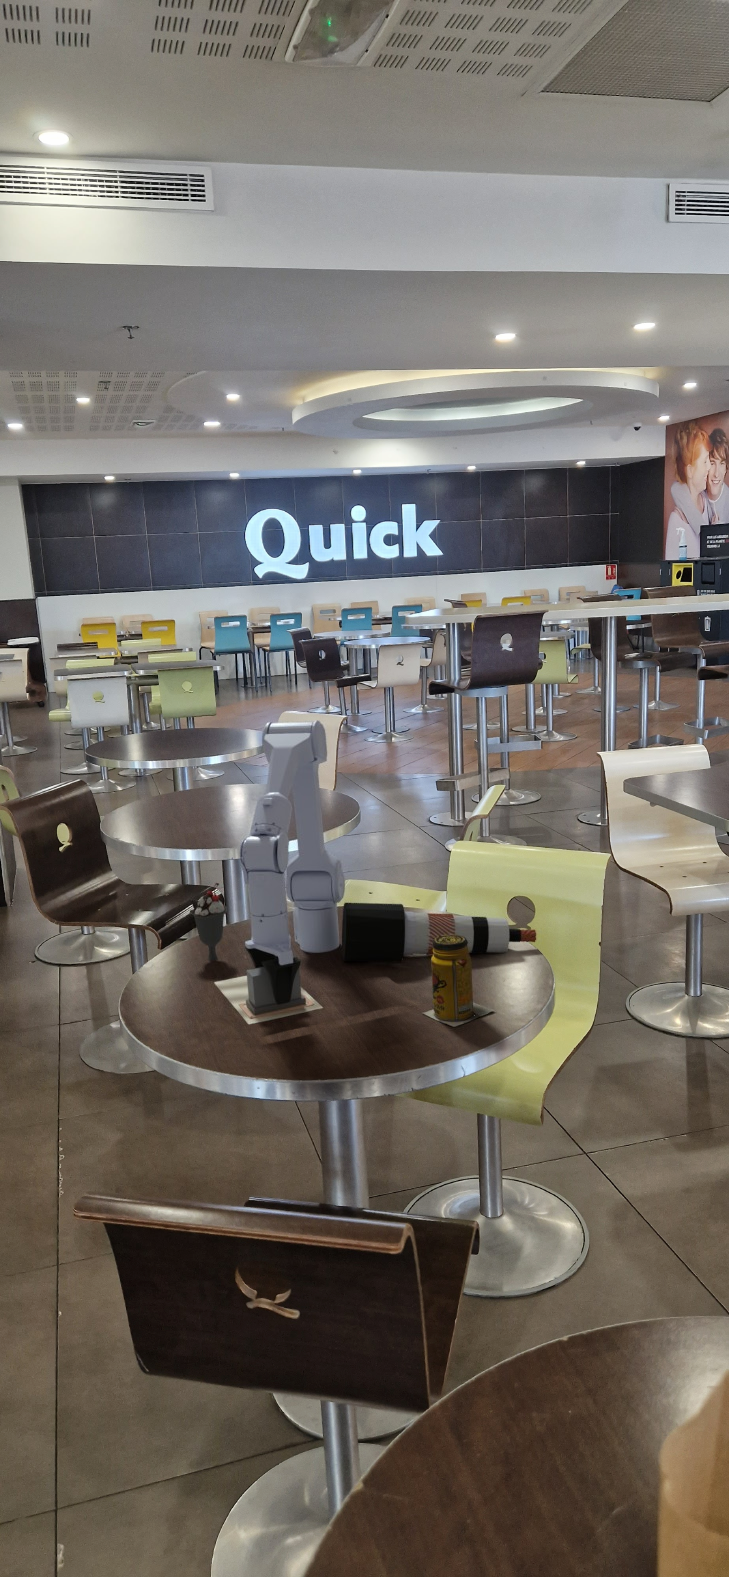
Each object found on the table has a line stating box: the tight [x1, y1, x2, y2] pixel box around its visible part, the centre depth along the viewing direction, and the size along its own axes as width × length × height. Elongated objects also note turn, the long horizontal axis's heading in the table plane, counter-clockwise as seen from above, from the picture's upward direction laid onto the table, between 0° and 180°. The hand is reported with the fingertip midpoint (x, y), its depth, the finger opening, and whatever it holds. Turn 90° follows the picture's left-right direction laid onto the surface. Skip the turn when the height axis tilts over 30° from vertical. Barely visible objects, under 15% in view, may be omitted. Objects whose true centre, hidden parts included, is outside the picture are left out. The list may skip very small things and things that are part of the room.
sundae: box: [189, 882, 228, 962], centre depth 180 cm, size 7×7×15 cm
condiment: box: [422, 935, 495, 1027], centre depth 153 cm, size 7×8×12 cm
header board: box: [213, 975, 324, 1025], centre depth 163 cm, size 20×12×5 cm, turn 24°
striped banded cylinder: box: [341, 902, 537, 963], centre depth 178 cm, size 10×34×10 cm, turn 92°
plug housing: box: [246, 967, 302, 1007], centre depth 158 cm, size 3×8×5 cm, turn 114°
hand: (275, 994), depth 158 cm, fingers open, 7 cm apart
